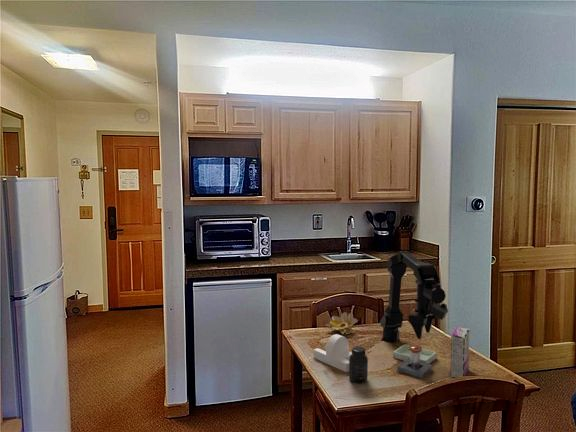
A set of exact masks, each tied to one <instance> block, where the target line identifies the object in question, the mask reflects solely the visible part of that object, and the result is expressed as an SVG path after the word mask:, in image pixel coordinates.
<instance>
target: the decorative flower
mask: <svg viewBox="0 0 576 432" xmlns="http://www.w3.org/2000/svg"><path fill="white" fill-rule="evenodd" d="M358 321H359V320H358V319H357V318H355V317H354V315H353V313H351V312H350V313H347V312H345V311H344V312H343V313H341V315H340V316H335V315H332V317H331V320H329V323H327V324H325V326H327V327H328V328H332V329H333V330H335V331H338V332H339V333H341V334H342V335H344V333H345V334H346V333H347V334H349V335H350V333H355V332H356V330H354V329H353V328H351V327H352V326H353V325H354V324H356V323H358ZM347 334H346V335H347Z"/></svg>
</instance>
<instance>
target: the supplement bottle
mask: <svg viewBox="0 0 576 432" xmlns="http://www.w3.org/2000/svg"><path fill="white" fill-rule="evenodd" d="M351 348H352V349H351V352H352V354H351V355H350V357H349V371H348V379H349V381H350V382H351V383H354V384H356V385H357V384H359V385H360V384H361V385H363V384H365V383H366V382H367V381H368V377H369V376H368V375H369V374H368V372H369V368H368V366H369V365H368V364H369V363H368V362H369V360H368V358H369V357H367V355H366V348H365V347H363V346H358V345H356V346H353V347H351Z"/></svg>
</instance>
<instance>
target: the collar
mask: <svg viewBox="0 0 576 432" xmlns="http://www.w3.org/2000/svg"><path fill="white" fill-rule="evenodd" d="M396 368H397V369H396V371H397V372H399V373H401V374H405V375H408V376H411V377H415V378H416V379H421V380H423V379H424V378H426V377H427V376H428V375H429V374H430V373H431V372H432V371H433V364H431V363H430V364H427V363H423V362H420V369H419V370H418V369H414V368H411V367H410V359H409V358H408V359H406V360H405V361H403V362H401V363H400V364H398V365H397V367H396Z"/></svg>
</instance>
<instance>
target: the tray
mask: <svg viewBox="0 0 576 432" xmlns="http://www.w3.org/2000/svg"><path fill="white" fill-rule="evenodd" d="M410 345H411V344H410ZM410 345H409V344H406V343H405V344H403V345H401V346H399V347H398V348H397V349H395V350H394V351H393V352H392V358H393V359H396V360H400V361H403V362H404V361H405V360H406V359H408V358H409V359H410V353H411V351H410V350H409V346H410ZM436 359H437V352H436V351H432V350H430V349H429V350H428V349H425V348H422V351H421V352H420V362H423V363H427V364H430V365H431V363H432V362H433V361H434V360H436Z"/></svg>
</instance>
